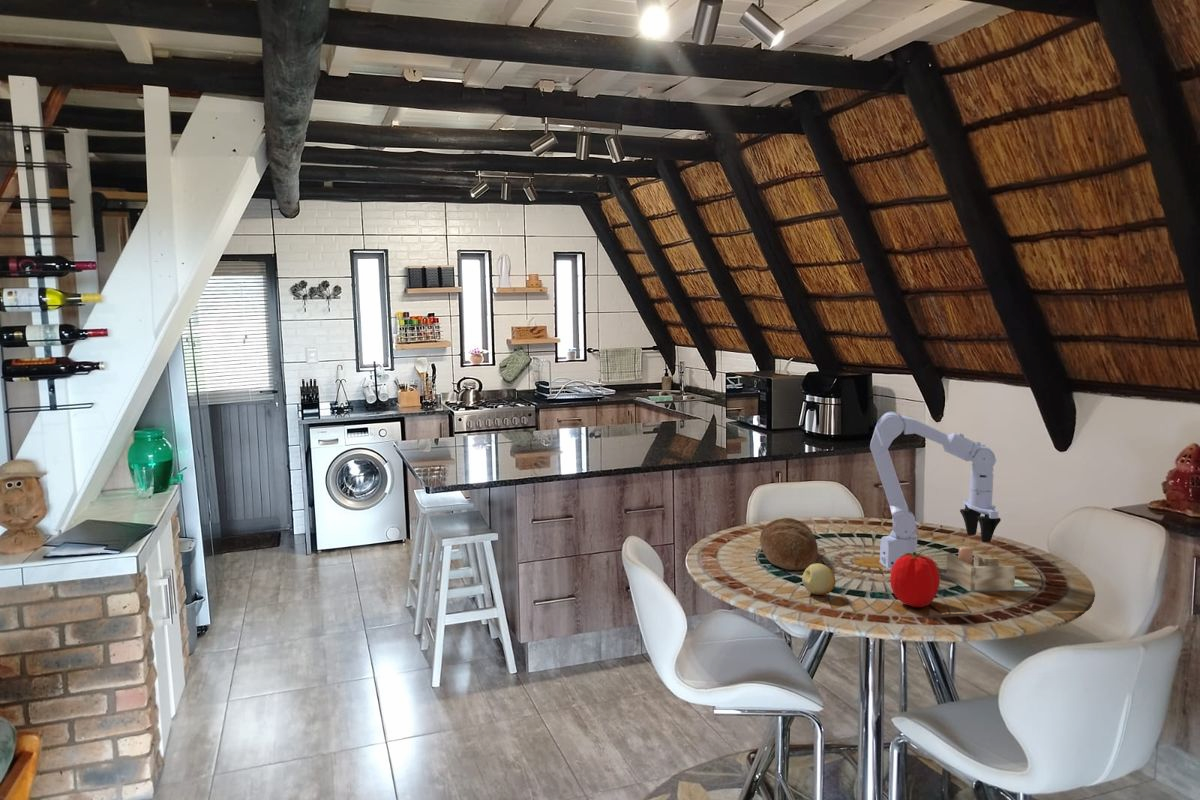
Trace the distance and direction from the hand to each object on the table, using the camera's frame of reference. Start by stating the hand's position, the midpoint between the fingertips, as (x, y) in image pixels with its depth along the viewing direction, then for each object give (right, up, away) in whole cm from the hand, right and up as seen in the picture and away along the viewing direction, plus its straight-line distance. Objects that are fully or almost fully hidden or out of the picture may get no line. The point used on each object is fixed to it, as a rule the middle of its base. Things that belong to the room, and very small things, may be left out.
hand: (978, 538), depth 227 cm
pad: (+5, -10, -11) cm, 15 cm away
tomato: (-27, -12, -25) cm, 39 cm away
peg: (-6, -10, -4) cm, 12 cm away
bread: (-49, -9, +16) cm, 52 cm away
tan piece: (-4, -10, -9) cm, 14 cm away
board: (-1, -11, -8) cm, 13 cm away
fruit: (-49, -12, -18) cm, 53 cm away
